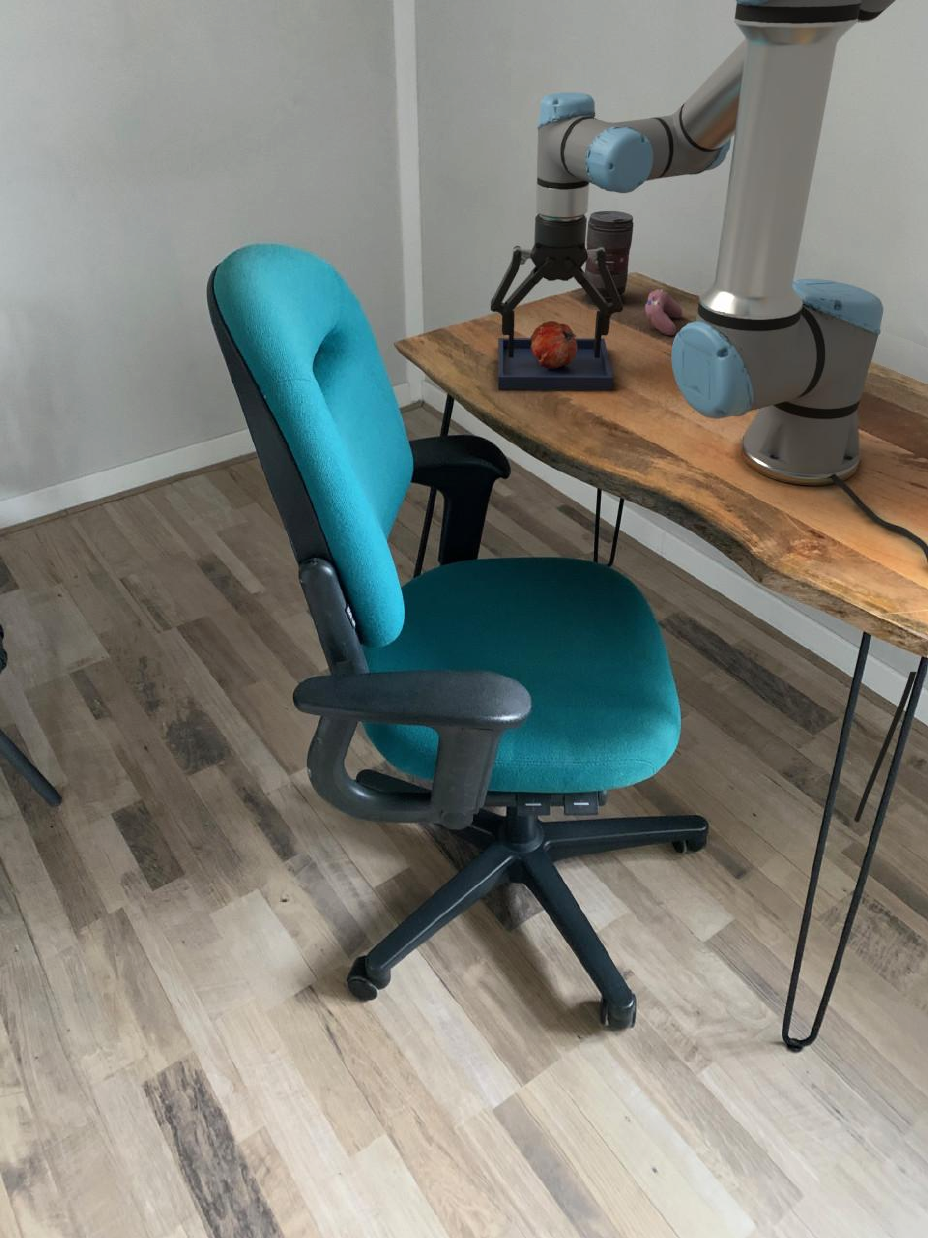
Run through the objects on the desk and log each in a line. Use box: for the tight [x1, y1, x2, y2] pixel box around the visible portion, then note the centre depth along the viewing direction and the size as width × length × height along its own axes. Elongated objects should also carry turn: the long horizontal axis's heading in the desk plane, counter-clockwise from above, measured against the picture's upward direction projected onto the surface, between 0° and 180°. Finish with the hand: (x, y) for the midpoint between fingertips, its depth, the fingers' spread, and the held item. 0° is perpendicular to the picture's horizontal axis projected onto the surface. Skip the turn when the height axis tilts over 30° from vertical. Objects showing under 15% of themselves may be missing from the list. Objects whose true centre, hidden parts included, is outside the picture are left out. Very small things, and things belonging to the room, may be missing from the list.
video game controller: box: [644, 288, 683, 337], centre depth 166 cm, size 10×5×7 cm, turn 162°
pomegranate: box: [529, 320, 577, 369], centre depth 150 cm, size 7×7×10 cm
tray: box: [497, 337, 614, 391], centre depth 152 cm, size 16×18×2 cm
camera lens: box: [584, 210, 635, 305], centre depth 173 cm, size 8×8×15 cm
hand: (553, 354), depth 151 cm, fingers open, 13 cm apart
